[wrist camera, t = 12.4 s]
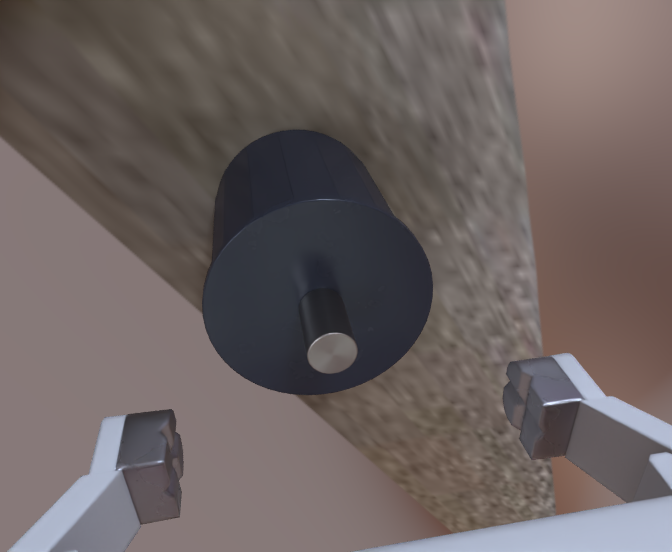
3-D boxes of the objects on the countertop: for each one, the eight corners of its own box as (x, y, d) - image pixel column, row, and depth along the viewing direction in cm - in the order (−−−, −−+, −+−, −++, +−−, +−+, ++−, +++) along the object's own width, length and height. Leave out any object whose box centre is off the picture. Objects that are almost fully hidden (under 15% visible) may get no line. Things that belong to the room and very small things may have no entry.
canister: (186, 171, 39) (170, 259, 28) (338, 102, 38) (381, 166, 27) (259, 295, 44) (269, 408, 34) (392, 237, 44) (444, 334, 33)
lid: (157, 251, 28) (144, 309, 24) (384, 149, 28) (414, 190, 23) (265, 410, 35) (270, 479, 30) (451, 331, 34) (485, 390, 29)
